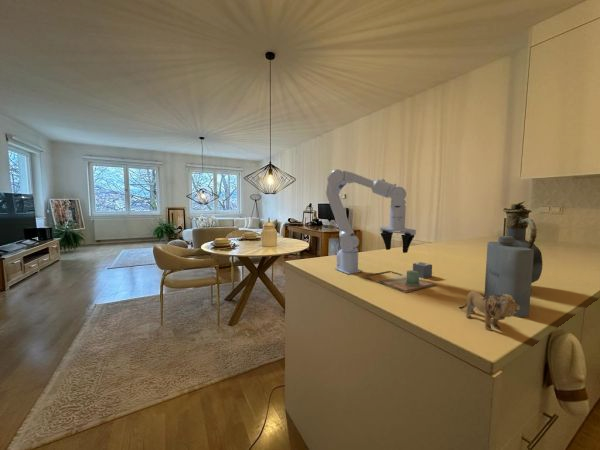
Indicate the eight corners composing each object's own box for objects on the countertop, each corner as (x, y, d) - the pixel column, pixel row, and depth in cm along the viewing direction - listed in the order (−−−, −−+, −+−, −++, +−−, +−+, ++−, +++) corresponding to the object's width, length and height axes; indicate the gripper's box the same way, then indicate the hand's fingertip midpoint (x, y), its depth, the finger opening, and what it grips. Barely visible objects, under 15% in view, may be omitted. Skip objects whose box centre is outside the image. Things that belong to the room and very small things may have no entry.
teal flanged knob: (402, 283, 89) (402, 271, 88) (411, 281, 91) (411, 269, 91) (413, 287, 84) (414, 274, 84) (423, 285, 87) (423, 272, 86)
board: (361, 276, 99) (361, 275, 99) (390, 271, 107) (390, 270, 107) (405, 293, 81) (405, 291, 81) (436, 285, 88) (436, 283, 88)
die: (412, 275, 101) (412, 263, 100) (420, 273, 103) (421, 262, 103) (423, 278, 96) (424, 266, 96) (431, 277, 99) (432, 264, 98)
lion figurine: (522, 336, 54) (525, 297, 53) (502, 339, 53) (505, 298, 53) (466, 308, 69) (468, 277, 68) (449, 310, 68) (451, 278, 67)
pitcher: (520, 282, 91) (526, 201, 89) (552, 301, 73) (560, 200, 71) (485, 279, 95) (490, 201, 93) (507, 296, 77) (513, 200, 75)
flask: (478, 295, 78) (481, 233, 77) (498, 296, 77) (503, 233, 76) (507, 316, 64) (513, 240, 62) (533, 318, 63) (539, 240, 61)
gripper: (376, 216, 101) (375, 249, 102) (408, 218, 89) (407, 255, 91) (386, 216, 105) (385, 247, 107) (419, 217, 94) (417, 253, 95)
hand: (396, 251), depth 99 cm, fingers open, 7 cm apart
